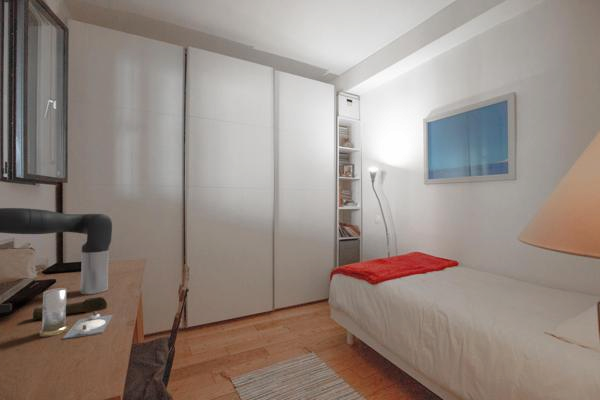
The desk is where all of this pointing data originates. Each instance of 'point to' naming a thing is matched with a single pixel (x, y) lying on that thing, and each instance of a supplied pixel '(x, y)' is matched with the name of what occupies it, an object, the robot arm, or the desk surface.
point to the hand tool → (77, 307)
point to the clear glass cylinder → (54, 312)
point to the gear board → (89, 326)
